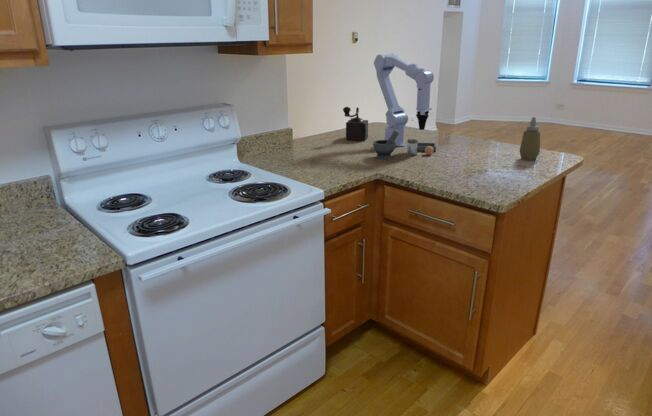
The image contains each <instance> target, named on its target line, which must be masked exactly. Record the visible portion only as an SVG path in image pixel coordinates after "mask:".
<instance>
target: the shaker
mask: <svg viewBox="0 0 652 416" xmlns="http://www.w3.org/2000/svg"><path fill="white" fill-rule="evenodd" d="M417 143H419V140H418V139H415V138H409V139H407V149H406V150H407V151H406V154H407V155H406V156H409V157H416V156H417V155H418V151H417Z"/></svg>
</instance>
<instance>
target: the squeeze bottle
mask: <svg viewBox="0 0 652 416" xmlns="http://www.w3.org/2000/svg"><path fill="white" fill-rule="evenodd" d="M539 128H540V126H538V125H537V118H536V116H532V117H531V120H530V123H529V125H526V130H524V131H523V134H522V139H521V142H520V147H519V154H520V159H521V160H523V161H532V162H533V161H536V160H537V158H538V156H539V155H540V151H541V149H540V148H541V132H540V130H539Z"/></svg>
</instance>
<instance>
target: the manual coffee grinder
mask: <svg viewBox="0 0 652 416" xmlns="http://www.w3.org/2000/svg"><path fill="white" fill-rule="evenodd" d="M359 109H360V107H356V110H355V114H352V115H351V114H350V112H351V111H352V109H351V107H349V106H345V107H343V109H342V111H343V113H344V117H345V118H346V117H347V118H350V119H348V121H347V122H346V123H345V141H350V142H366V141H367V139H368V138H369V120H368V119H363V118H361V117H359V111H360V110H359ZM365 140H366V141H365Z"/></svg>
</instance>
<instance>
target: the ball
mask: <svg viewBox="0 0 652 416" xmlns="http://www.w3.org/2000/svg"><path fill="white" fill-rule="evenodd" d="M433 151H434V149H433V147H431V146H427V147H426V148H425V152H424V153H425V154H426V155H428V156H430V155H432V154H433V153H434V152H433Z"/></svg>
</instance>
